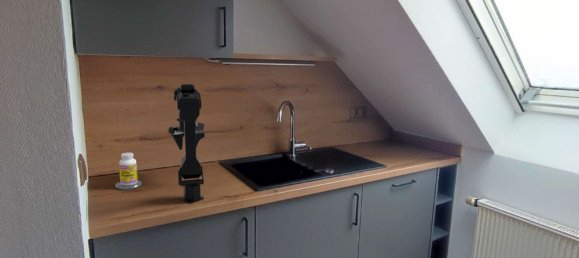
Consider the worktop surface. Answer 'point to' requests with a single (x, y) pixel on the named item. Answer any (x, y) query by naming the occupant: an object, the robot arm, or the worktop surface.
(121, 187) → the steel plate
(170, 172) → the worktop surface
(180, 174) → the robot arm
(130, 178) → the supplement bottle
